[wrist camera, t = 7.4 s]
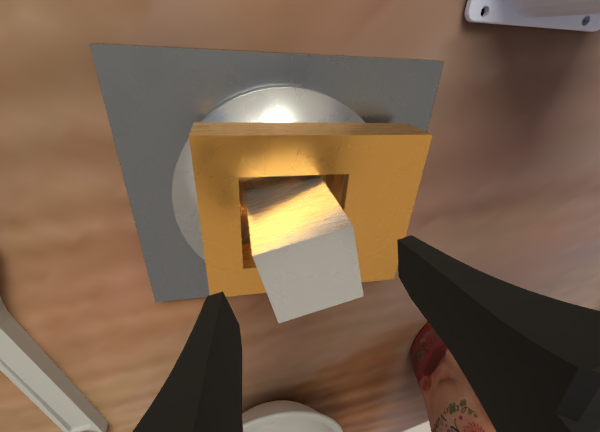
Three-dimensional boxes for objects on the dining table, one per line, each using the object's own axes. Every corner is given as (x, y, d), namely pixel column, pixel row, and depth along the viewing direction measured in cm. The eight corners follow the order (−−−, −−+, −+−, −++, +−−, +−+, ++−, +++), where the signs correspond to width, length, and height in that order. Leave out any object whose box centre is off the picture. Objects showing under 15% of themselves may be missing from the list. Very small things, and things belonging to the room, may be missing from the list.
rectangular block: (311, 162, 18) (353, 225, 12) (322, 218, 20) (363, 296, 14) (244, 181, 17) (252, 255, 11) (263, 236, 19) (278, 323, 14)
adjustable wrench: (116, 422, 30) (110, 442, 28) (43, 437, 29) (33, 459, 27) (-32, 196, 17) (-57, 212, 16) (-173, 209, 16) (-214, 227, 15)
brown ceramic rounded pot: (462, 389, 40) (560, 535, 28) (377, 404, 38) (445, 571, 26) (531, 271, 30) (722, 419, 19) (421, 281, 28) (564, 460, 16)
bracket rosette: (434, 60, 18) (489, 66, 14) (383, 270, 26) (410, 309, 22) (97, 43, 14) (50, 45, 11) (158, 292, 22) (144, 344, 19)
